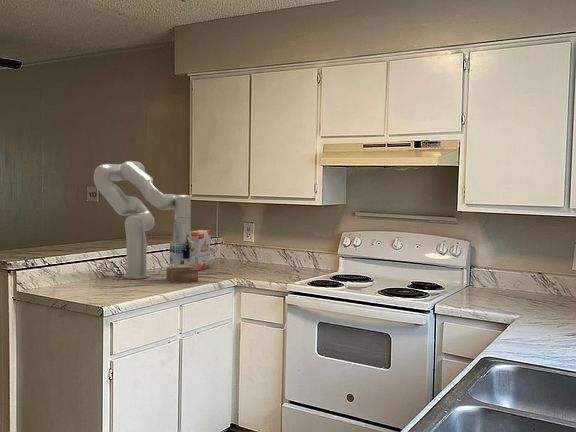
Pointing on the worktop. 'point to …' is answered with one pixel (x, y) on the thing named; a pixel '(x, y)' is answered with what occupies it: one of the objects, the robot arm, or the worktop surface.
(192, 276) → the walnut block
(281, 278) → the worktop surface
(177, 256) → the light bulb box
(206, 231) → the cracker box
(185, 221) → the robot arm
